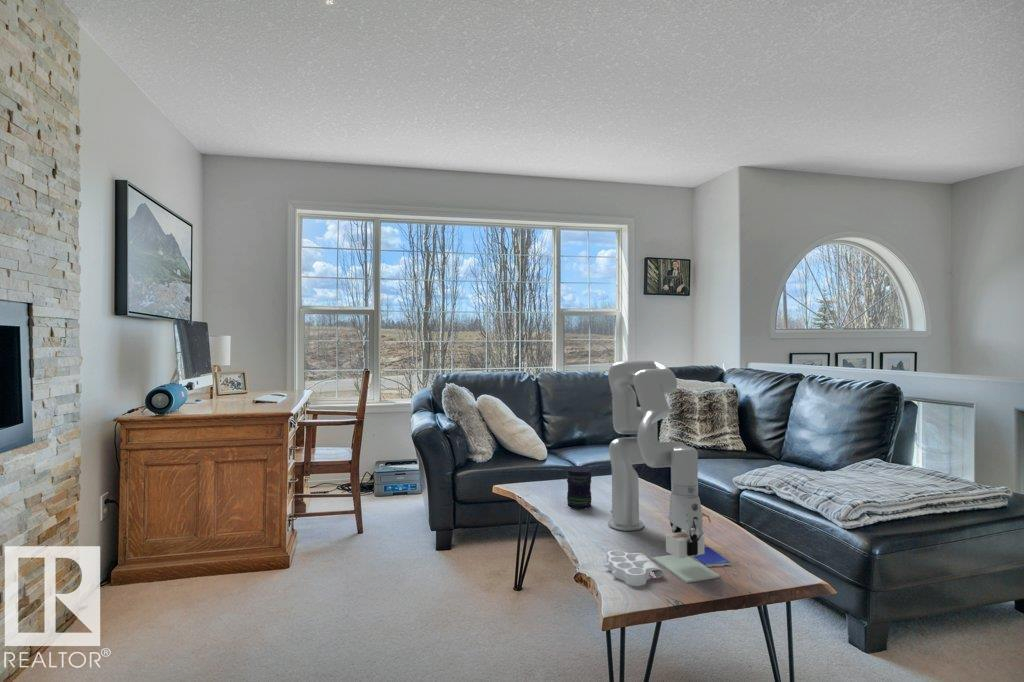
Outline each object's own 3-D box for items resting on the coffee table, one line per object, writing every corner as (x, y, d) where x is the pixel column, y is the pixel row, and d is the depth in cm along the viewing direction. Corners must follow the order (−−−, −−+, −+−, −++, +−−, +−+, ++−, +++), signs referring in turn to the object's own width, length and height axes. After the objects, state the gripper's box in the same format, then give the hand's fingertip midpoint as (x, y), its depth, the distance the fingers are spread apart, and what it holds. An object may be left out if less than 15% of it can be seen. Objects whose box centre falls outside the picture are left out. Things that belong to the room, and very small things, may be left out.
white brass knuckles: (669, 584, 150) (619, 589, 147) (640, 558, 167) (595, 563, 164) (669, 571, 150) (619, 577, 147) (640, 547, 167) (595, 551, 164)
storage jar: (565, 502, 225) (565, 466, 225) (589, 501, 226) (588, 466, 226) (569, 509, 215) (568, 472, 215) (593, 509, 216) (593, 471, 216)
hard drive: (730, 561, 161) (709, 546, 173) (705, 563, 160) (685, 548, 172) (730, 567, 161) (709, 551, 173) (705, 569, 160) (685, 553, 172)
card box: (690, 546, 164) (690, 529, 164) (704, 553, 158) (704, 536, 158) (666, 551, 160) (665, 533, 160) (679, 558, 155) (679, 540, 155)
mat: (652, 559, 166) (652, 557, 166) (683, 554, 169) (683, 553, 169) (686, 582, 149) (686, 580, 149) (720, 577, 153) (720, 575, 153)
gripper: (714, 495, 152) (715, 560, 152) (678, 481, 169) (678, 539, 169) (691, 498, 150) (692, 563, 150) (656, 483, 166) (657, 542, 166)
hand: (685, 550), depth 159 cm, fingers closed on card box, 6 cm apart
